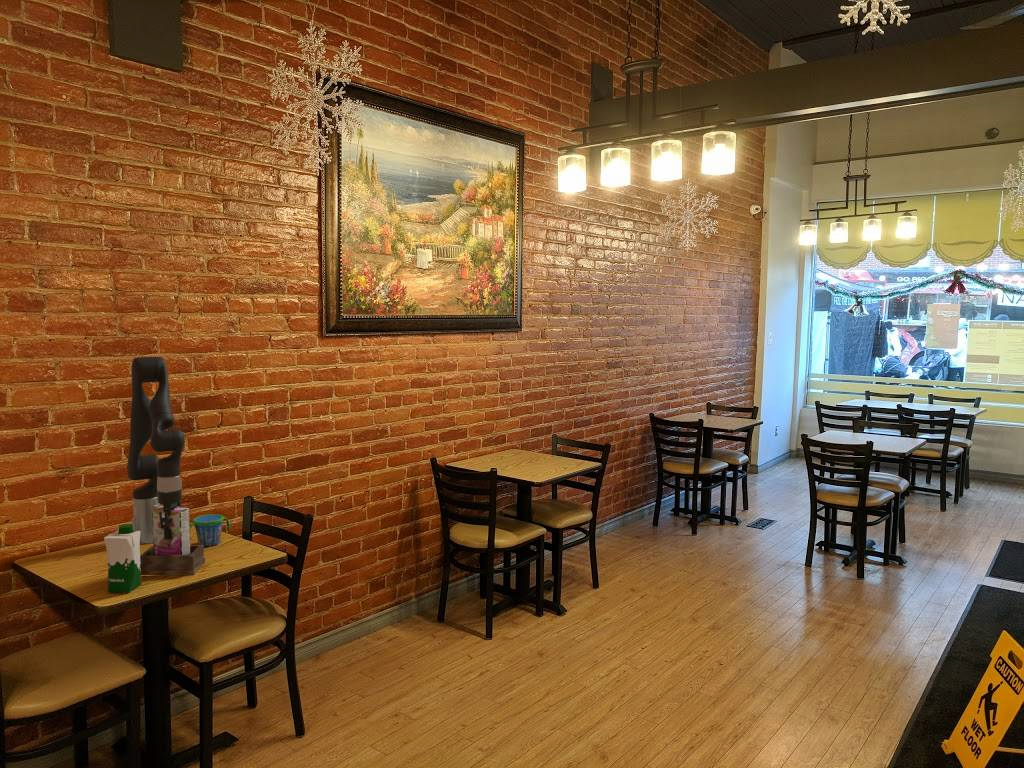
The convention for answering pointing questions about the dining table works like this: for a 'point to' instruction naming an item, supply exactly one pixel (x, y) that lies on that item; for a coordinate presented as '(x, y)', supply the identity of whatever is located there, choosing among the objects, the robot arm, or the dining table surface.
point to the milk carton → (123, 559)
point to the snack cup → (209, 528)
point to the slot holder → (172, 562)
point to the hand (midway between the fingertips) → (171, 536)
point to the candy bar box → (179, 533)
